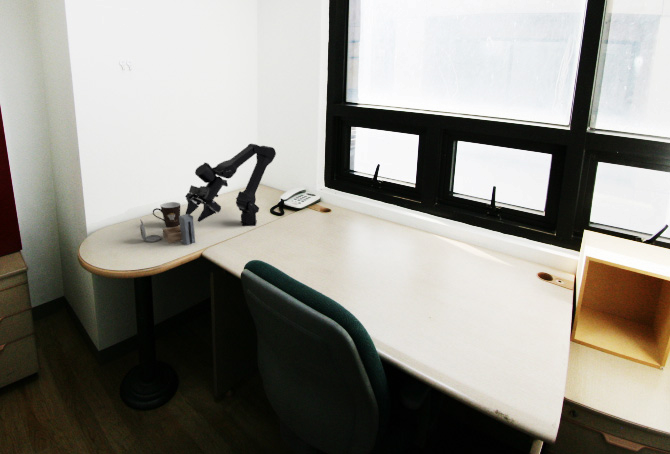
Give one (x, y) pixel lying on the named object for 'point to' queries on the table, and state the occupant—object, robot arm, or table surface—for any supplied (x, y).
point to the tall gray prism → (187, 229)
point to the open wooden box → (172, 234)
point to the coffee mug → (170, 214)
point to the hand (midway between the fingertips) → (192, 218)
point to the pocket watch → (148, 238)
